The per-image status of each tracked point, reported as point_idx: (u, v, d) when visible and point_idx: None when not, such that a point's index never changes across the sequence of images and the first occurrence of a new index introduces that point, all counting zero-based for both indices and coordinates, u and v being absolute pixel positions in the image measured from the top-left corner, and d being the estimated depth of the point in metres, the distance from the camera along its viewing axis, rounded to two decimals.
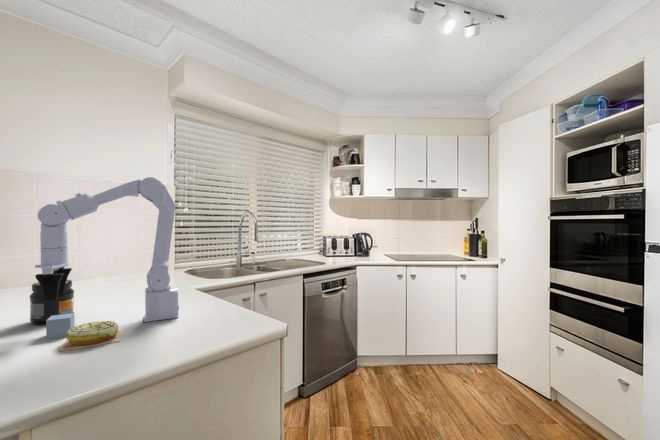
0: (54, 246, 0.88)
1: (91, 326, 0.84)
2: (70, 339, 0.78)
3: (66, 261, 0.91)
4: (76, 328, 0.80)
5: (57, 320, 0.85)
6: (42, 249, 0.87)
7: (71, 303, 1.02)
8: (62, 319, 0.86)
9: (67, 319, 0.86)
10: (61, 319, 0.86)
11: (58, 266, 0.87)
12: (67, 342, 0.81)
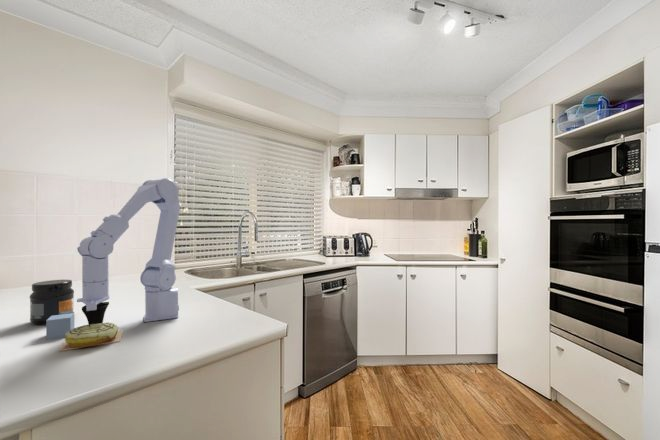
0: (103, 279, 0.86)
1: (90, 328, 0.82)
2: (69, 341, 0.76)
3: (107, 294, 0.88)
4: (75, 330, 0.79)
5: (57, 320, 0.85)
6: (84, 283, 0.84)
7: (71, 303, 1.02)
8: (62, 319, 0.86)
9: (67, 319, 0.86)
10: (61, 319, 0.86)
11: (101, 300, 0.84)
12: None
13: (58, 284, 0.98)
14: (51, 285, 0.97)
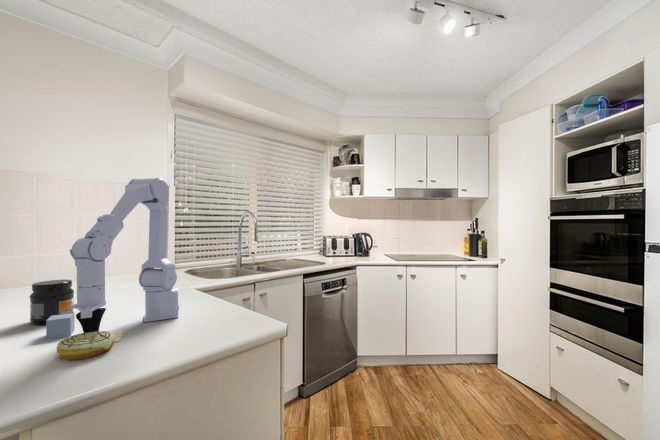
0: (102, 282, 0.81)
1: (85, 337, 0.76)
2: (60, 353, 0.70)
3: (104, 300, 0.81)
4: (67, 340, 0.73)
5: (57, 320, 0.85)
6: (79, 288, 0.78)
7: (71, 303, 1.02)
8: (62, 319, 0.86)
9: (67, 319, 0.86)
10: (61, 319, 0.86)
11: (97, 307, 0.78)
12: None
13: (58, 284, 0.98)
14: (51, 285, 0.97)
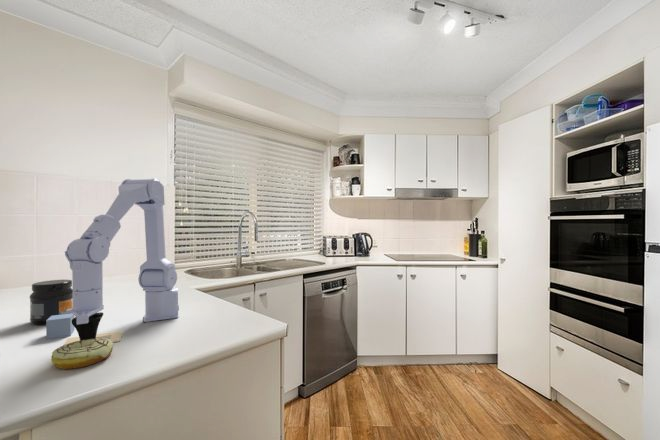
0: (100, 286, 0.77)
1: (81, 345, 0.72)
2: (55, 362, 0.66)
3: (101, 304, 0.77)
4: (63, 348, 0.68)
5: (57, 320, 0.85)
6: (75, 291, 0.74)
7: (71, 303, 1.02)
8: (62, 319, 0.86)
9: (67, 319, 0.86)
10: (61, 319, 0.86)
11: (93, 312, 0.73)
12: (67, 342, 0.81)
13: (58, 284, 0.98)
14: (51, 285, 0.97)
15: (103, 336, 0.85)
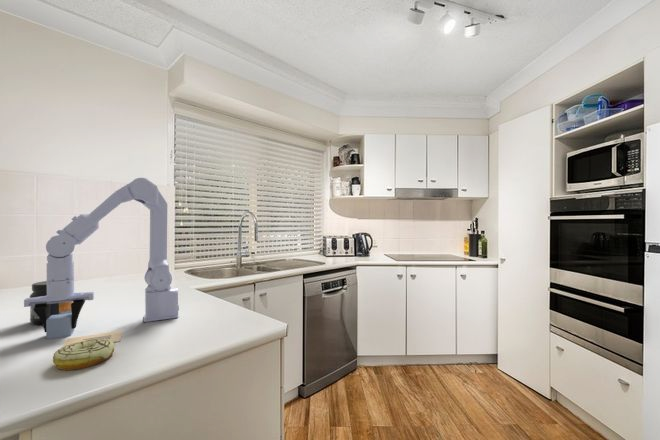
0: (62, 278, 0.86)
1: (83, 346, 0.72)
2: (56, 363, 0.66)
3: (55, 295, 0.85)
4: (64, 349, 0.68)
5: (57, 320, 0.85)
6: None
7: (71, 303, 1.02)
8: (62, 319, 0.86)
9: (67, 319, 0.86)
10: (61, 319, 0.86)
11: (38, 300, 0.84)
12: (67, 342, 0.81)
13: None
14: None
15: (103, 336, 0.85)
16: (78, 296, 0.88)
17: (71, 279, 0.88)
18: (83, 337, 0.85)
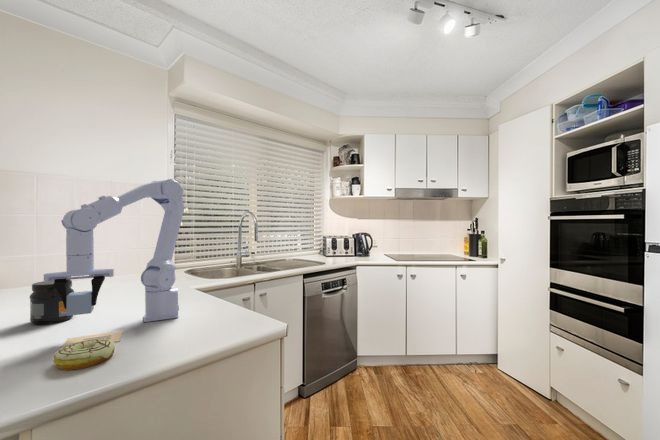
0: (87, 252, 0.84)
1: (83, 346, 0.72)
2: (57, 363, 0.66)
3: (75, 270, 0.82)
4: (65, 349, 0.68)
5: (77, 296, 0.83)
6: None
7: None
8: (82, 295, 0.83)
9: (88, 295, 0.84)
10: (81, 295, 0.83)
11: (58, 275, 0.81)
12: (67, 342, 0.81)
13: None
14: (51, 285, 0.97)
15: (103, 336, 0.85)
16: (98, 272, 0.85)
17: (91, 254, 0.85)
18: (83, 337, 0.85)
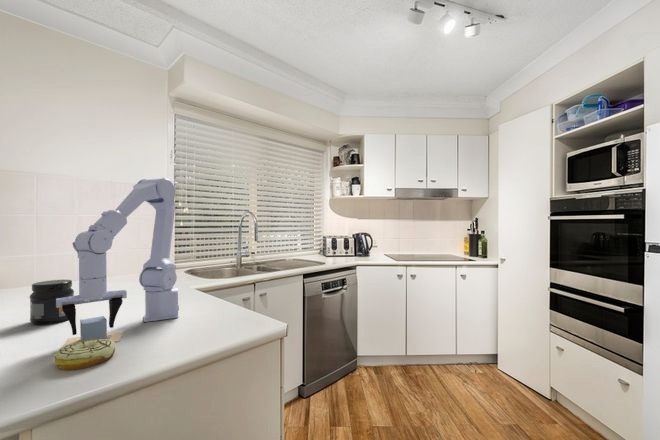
0: (103, 275, 0.83)
1: (84, 345, 0.72)
2: (58, 363, 0.66)
3: (91, 294, 0.81)
4: (66, 349, 0.68)
5: (93, 323, 0.81)
6: None
7: None
8: (98, 322, 0.82)
9: (103, 322, 0.82)
10: (97, 322, 0.82)
11: (72, 299, 0.79)
12: (67, 342, 0.81)
13: (58, 284, 0.98)
14: (51, 285, 0.97)
15: None
16: (113, 294, 0.84)
17: (105, 277, 0.84)
18: None
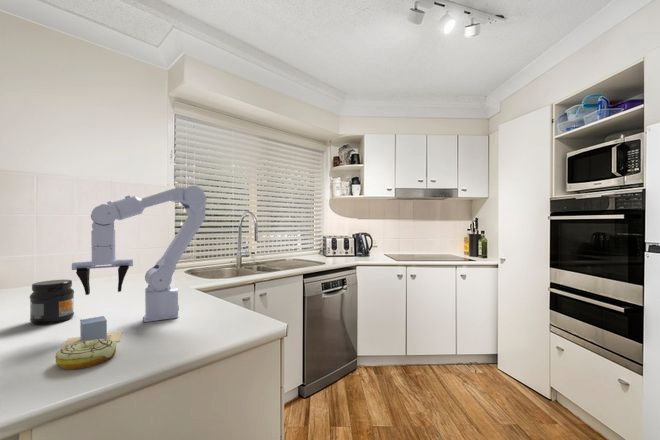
0: (106, 244, 0.92)
1: (85, 345, 0.72)
2: (59, 362, 0.66)
3: (99, 260, 0.91)
4: (67, 349, 0.68)
5: (93, 323, 0.81)
6: None
7: (71, 303, 1.02)
8: (98, 322, 0.82)
9: (103, 322, 0.82)
10: (97, 322, 0.82)
11: (84, 264, 0.91)
12: (67, 342, 0.81)
13: (58, 284, 0.98)
14: (51, 285, 0.97)
15: None
16: (120, 262, 0.94)
17: (113, 246, 0.94)
18: None
